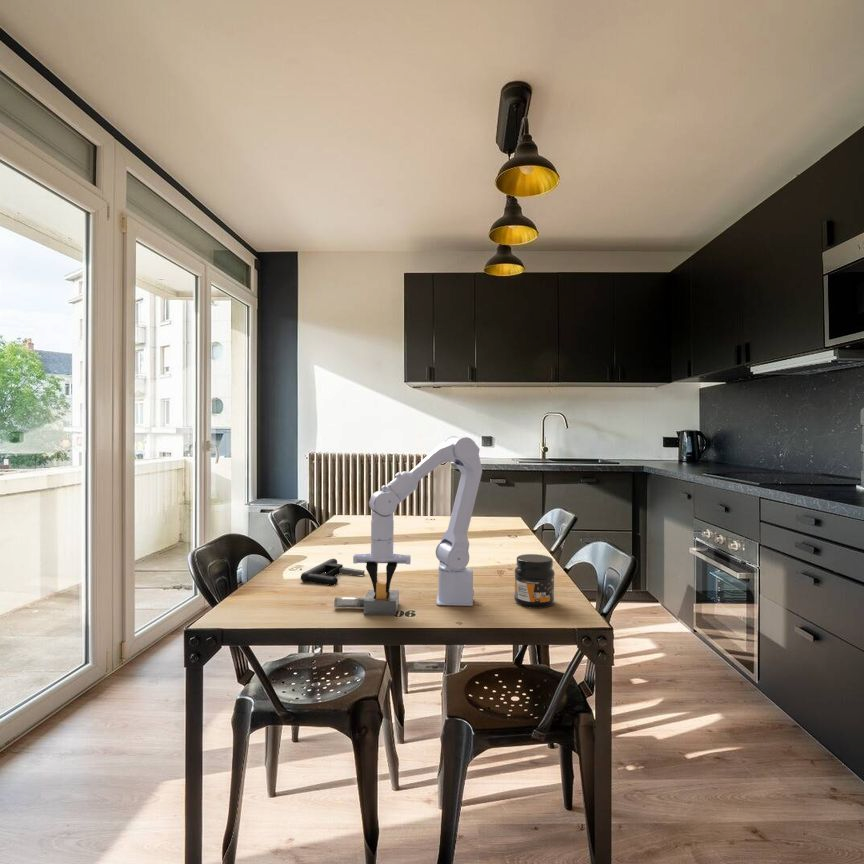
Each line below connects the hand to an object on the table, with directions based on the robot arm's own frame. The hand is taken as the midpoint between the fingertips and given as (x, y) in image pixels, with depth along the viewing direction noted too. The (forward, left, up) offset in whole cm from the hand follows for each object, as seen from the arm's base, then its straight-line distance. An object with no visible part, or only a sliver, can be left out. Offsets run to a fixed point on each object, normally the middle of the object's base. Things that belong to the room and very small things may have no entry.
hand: (381, 591), depth 142 cm
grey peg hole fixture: (+4, 0, -4) cm, 6 cm away
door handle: (+18, -30, -5) cm, 35 cm away
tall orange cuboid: (0, 0, -5) cm, 5 cm away
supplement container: (-40, -7, -5) cm, 41 cm away
